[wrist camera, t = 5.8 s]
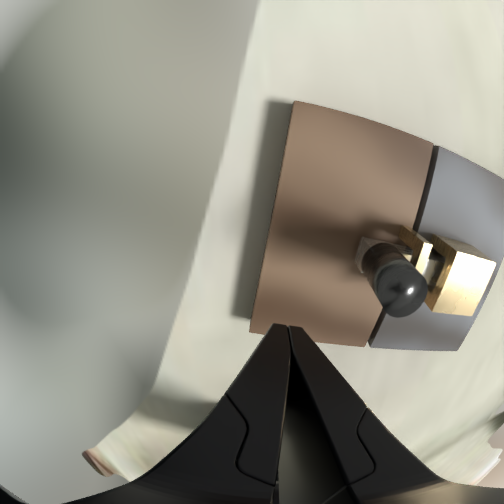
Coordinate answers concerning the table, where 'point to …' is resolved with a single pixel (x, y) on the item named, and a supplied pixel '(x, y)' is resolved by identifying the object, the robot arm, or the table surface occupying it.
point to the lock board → (367, 228)
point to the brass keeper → (451, 272)
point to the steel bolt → (396, 275)
